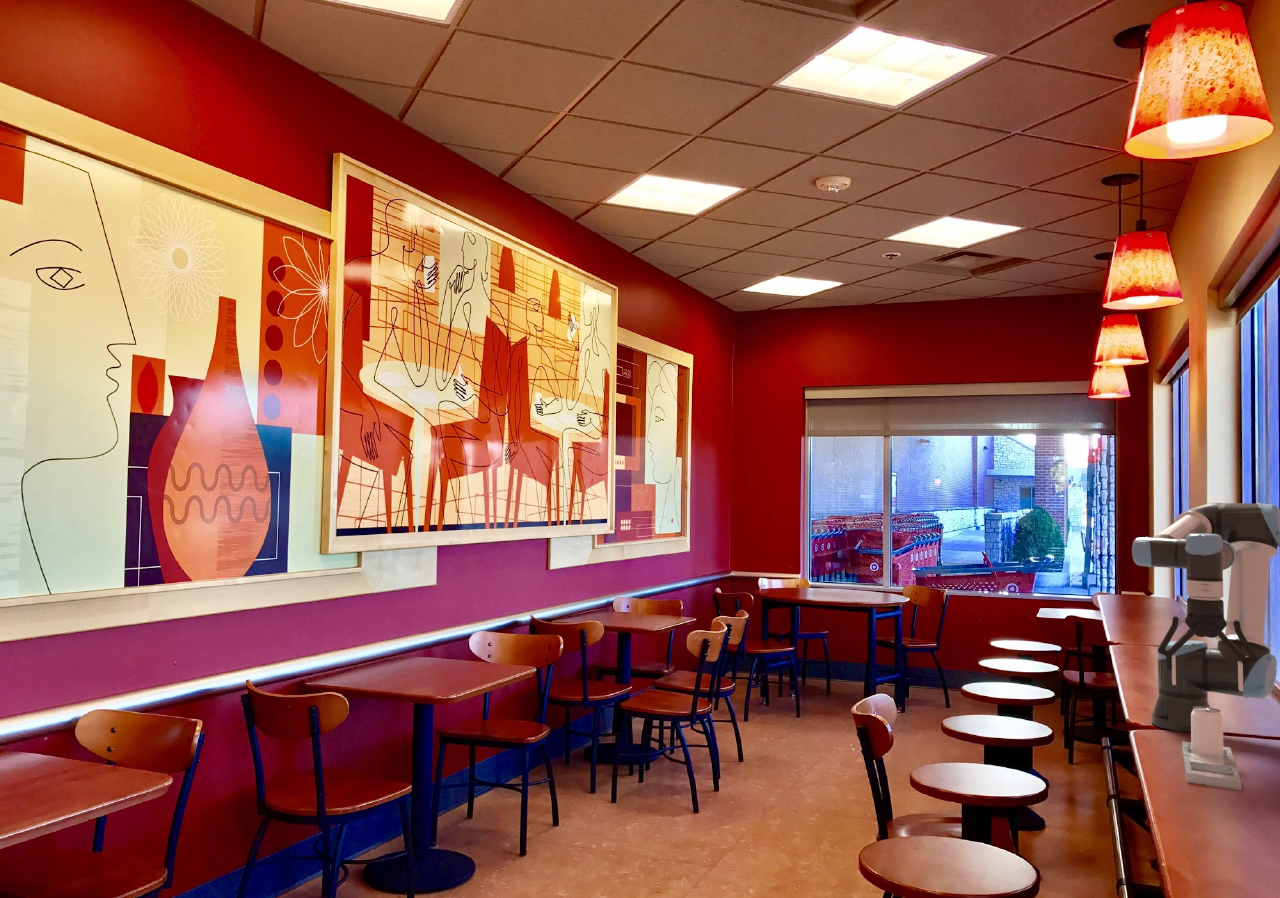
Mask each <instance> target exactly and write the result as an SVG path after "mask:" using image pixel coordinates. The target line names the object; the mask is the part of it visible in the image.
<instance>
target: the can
mask: <svg viewBox="0 0 1280 898" xmlns="http://www.w3.org/2000/svg"><path fill="white" fill-rule="evenodd" d="M1223 720H1224V718H1223V715H1222V714H1221V710H1220V709H1219V708H1216V707H1203V706H1195V707H1193V711H1192V713H1191V733H1190V736H1191V737H1190V738H1191V741H1190V743H1191V748H1192V753H1194V754H1201V755H1209V756H1217V757H1223V747H1224V721H1223Z"/></svg>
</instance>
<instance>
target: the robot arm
mask: <svg viewBox="0 0 1280 898" xmlns="http://www.w3.org/2000/svg"><path fill="white" fill-rule="evenodd" d="M1278 548H1280V508H1279V506H1277V505H1275V504H1273V503H1270V504H1269V503H1261V502H1258V503H1246V502H1244V503H1239V502H1237V503H1235V502H1234V503H1233V502H1228V503H1227V502H1226V503H1225V502H1211V503H1206V504H1201V505H1199V506H1195V507H1192V508H1190V509H1188V510H1184V511H1183V512H1182V513H1180V514H1178V516H1177V517H1175V519H1174V521H1173V523H1172V524H1171V525H1170V526H1168V527H1167V528H1165V529H1163V530H1162V531H1161V532H1159V533H1157V534H1155V535H1154V536H1152V537H1148V536H1145V537H1144V536H1143V537H1139V536H1138V537H1136V538H1135V539H1134V540H1133V542H1132V547H1131V554H1132V555H1131V556H1132V559H1133V562H1134V563H1135V564H1136V565H1137V566H1140V567H1141V566H1142V567H1148V568H1152V567H1153V568H1168V569H1169V568H1170V569H1173V568H1174V569H1186V595H1187V599H1186V613H1187V614H1186V617H1180V616H1177V615H1174V616H1172V619H1171V620H1172V621H1171V625H1170V627H1169V629H1168V631H1167V632H1166V634H1165V635H1164V637H1163V638H1162V641H1161V642H1160V644H1159V645H1158V648H1157V659H1156V660H1157V685H1158V687H1157V688H1158V689H1157V693H1158V694H1157V698H1156V701H1155V704H1154V706H1153V709H1152V713H1151V715H1150V717H1151V719H1150V720H1151V724H1152V723H1153V724H1152V725H1154V724H1155V725H1154V726H1156V727H1158V728H1162V729H1164V730H1165V729H1166V730H1170V731H1175V732H1181V733H1189V734H1191V713H1192V711H1193V707H1195V706H1203V707H1210V703H1209V699H1208V697H1209V696H1208V694H1209V693H1208V692H1210V693H1215V694H1216V693H1217V694H1223V695H1229V696H1237V697H1243V698H1245V699H1250V698H1252V699H1253V698H1254V699H1260V700H1261V699H1266V698H1267V697H1268V696H1269V695H1270V694H1271V693H1272V691H1273V689H1274V686H1275V682H1276V679H1277V672H1278V671H1277V667H1278V662H1277V658H1276V656H1274V655H1273V654H1272V653H1270V652H1271V649H1270V647H1269V646H1268V645H1267V644H1265V641H1264V640H1265V629H1266V628H1265V624H1266V615H1267V614H1266V612H1267V599H1268V586H1269V585H1268V584H1269V575H1270V574H1269V573H1270V560H1271V558H1273V557H1274V556H1276V555H1277V553H1278ZM1229 568H1230V575H1229V576H1230V577H1229V578H1230V579H1229V590H1228V600H1227V610H1226V612H1227V613H1226V619H1225V610H1224V609H1225V607H1224V606H1225V604H1224V601H1223V598H1224V573H1223V572H1224V570H1227V569H1229ZM1183 624H1185V625H1186V626H1187V627H1188V628H1189V629H1188V630H1187V631H1186V632H1185V633H1184V634H1182V636H1181V637H1179V639H1178V640H1172V638H1173V636H1174V634H1175V633H1176V631H1177V629H1178V627H1181V626H1182V625H1183ZM1223 630H1225V633H1224V632H1223ZM1194 636H1196V637H1198V638H1205V637H1207V638H1209V639H1214V638H1217V637H1218V638H1219V639H1218V640H1217V647H1215V648H1214V647H1209V646H1208V643H1207V642H1206V641H1205V640H1193V639H1191V638H1192V637H1194ZM1190 639H1191V640H1190ZM1171 640H1172V641H1171Z"/></svg>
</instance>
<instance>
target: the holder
mask: <svg viewBox="0 0 1280 898" xmlns="http://www.w3.org/2000/svg"><path fill="white" fill-rule="evenodd" d="M1181 749H1182V750H1181V751H1182V758H1183V764H1184V771H1185V778H1186V783H1189V784H1196V785H1202V784H1205V785H1204V786H1210V787H1217V788H1224V789H1231V790H1238V791H1242V778H1241V776H1240V773H1239V769H1238V767H1237V763H1236V760H1235V758H1234V755H1233V753H1232V749H1231V747H1230V746H1223V757H1217V756H1209V755H1201V754H1194V753H1192V748H1191V741H1190V742H1188V741H1181ZM1207 772H1209V773H1207Z"/></svg>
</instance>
